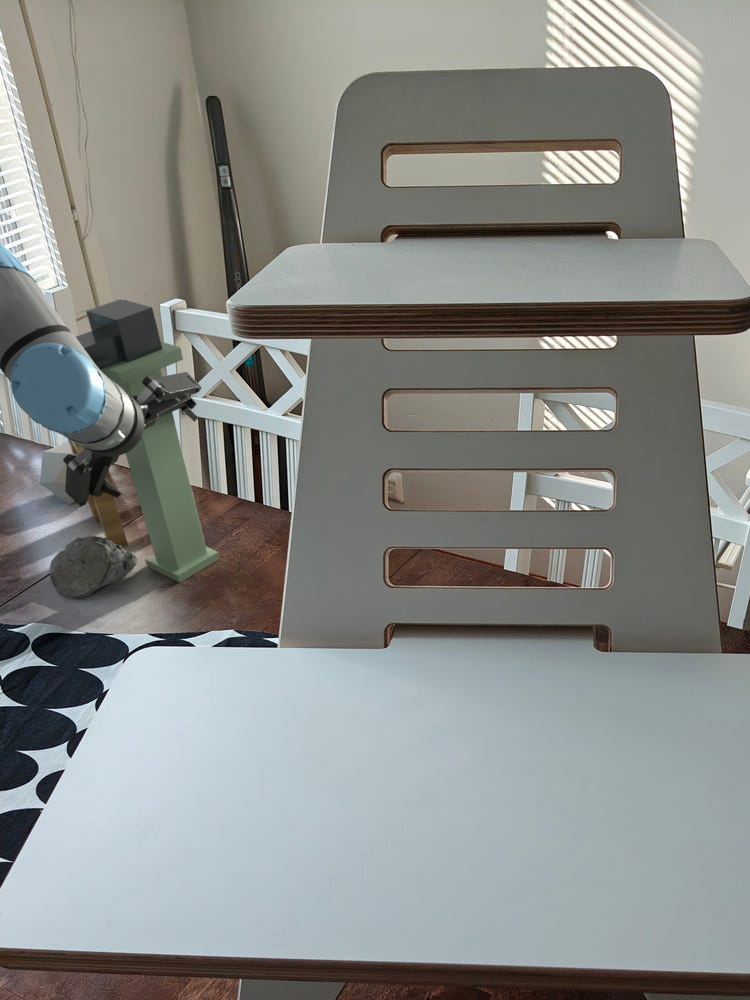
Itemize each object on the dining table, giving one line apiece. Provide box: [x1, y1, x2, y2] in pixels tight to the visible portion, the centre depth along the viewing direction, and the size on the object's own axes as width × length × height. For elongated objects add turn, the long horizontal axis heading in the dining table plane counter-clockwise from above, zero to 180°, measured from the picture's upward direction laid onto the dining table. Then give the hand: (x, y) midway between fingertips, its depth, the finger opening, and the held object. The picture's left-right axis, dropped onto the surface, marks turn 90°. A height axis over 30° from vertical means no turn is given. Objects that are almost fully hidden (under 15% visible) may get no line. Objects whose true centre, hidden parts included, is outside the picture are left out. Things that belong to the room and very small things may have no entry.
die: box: [39, 441, 76, 506], centre depth 149 cm, size 8×9×10 cm
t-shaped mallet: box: [75, 298, 162, 370], centre depth 112 cm, size 16×6×5 cm, turn 142°
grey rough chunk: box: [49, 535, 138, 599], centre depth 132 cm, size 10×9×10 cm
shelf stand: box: [100, 341, 220, 584], centre depth 126 cm, size 9×9×30 cm
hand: (150, 450), depth 126 cm, fingers open, 13 cm apart
